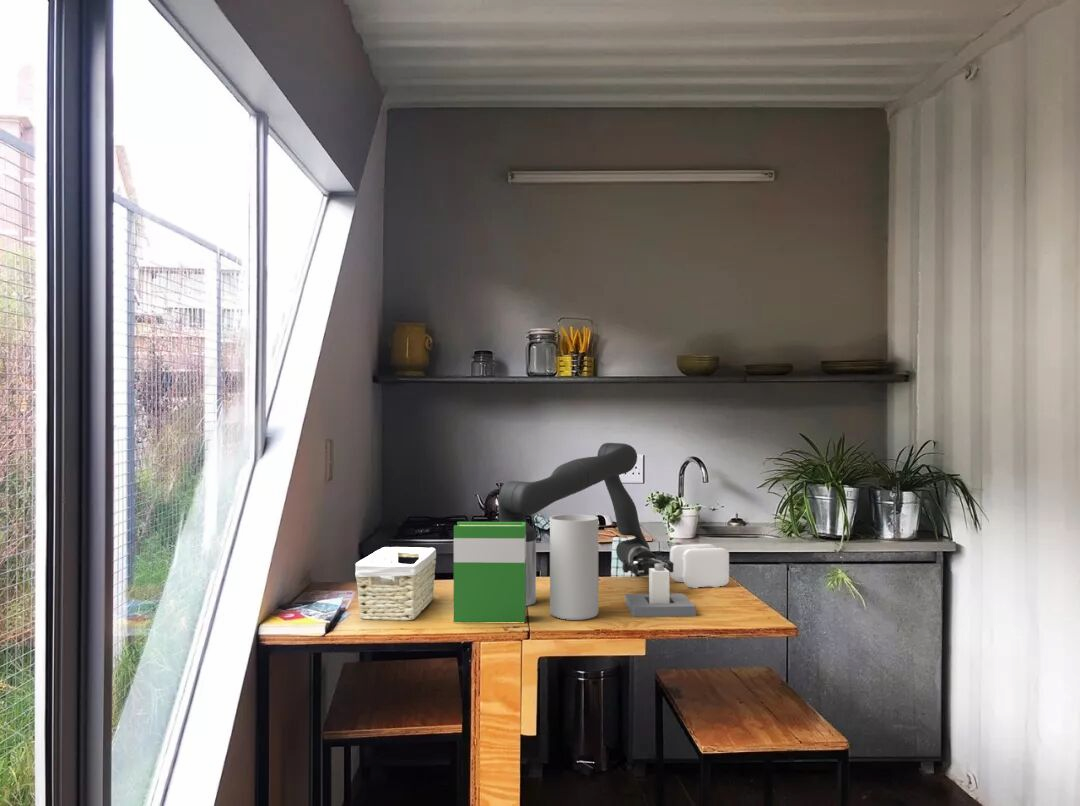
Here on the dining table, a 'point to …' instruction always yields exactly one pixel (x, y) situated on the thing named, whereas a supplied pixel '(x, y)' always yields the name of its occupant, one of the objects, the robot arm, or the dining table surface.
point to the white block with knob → (658, 584)
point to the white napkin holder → (700, 565)
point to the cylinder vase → (574, 566)
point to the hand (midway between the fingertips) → (652, 571)
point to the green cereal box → (490, 572)
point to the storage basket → (395, 583)
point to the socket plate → (659, 606)
